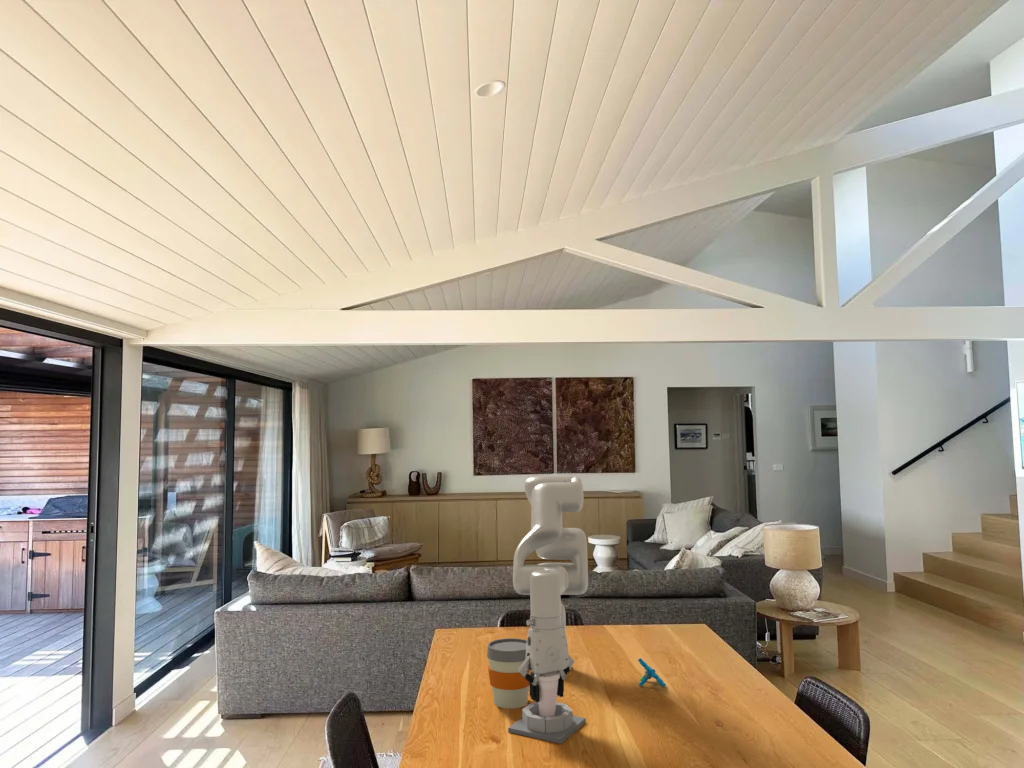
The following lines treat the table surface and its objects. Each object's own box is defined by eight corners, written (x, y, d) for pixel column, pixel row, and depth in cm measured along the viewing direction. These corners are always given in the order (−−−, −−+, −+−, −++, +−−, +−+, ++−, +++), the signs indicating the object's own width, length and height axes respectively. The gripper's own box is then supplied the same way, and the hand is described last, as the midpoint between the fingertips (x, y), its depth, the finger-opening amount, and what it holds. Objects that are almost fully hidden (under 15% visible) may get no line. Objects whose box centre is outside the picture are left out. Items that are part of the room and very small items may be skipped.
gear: (669, 687, 192) (642, 659, 194) (654, 703, 191) (627, 674, 194) (665, 679, 202) (639, 653, 205) (651, 694, 202) (625, 668, 204)
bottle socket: (508, 732, 167) (507, 714, 168) (535, 712, 179) (535, 695, 180) (561, 743, 160) (560, 725, 161) (585, 722, 173) (585, 705, 173)
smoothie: (532, 709, 173) (531, 651, 174) (558, 708, 174) (557, 650, 175) (535, 719, 167) (534, 659, 168) (562, 718, 167) (561, 658, 168)
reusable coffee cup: (540, 696, 190) (539, 640, 192) (525, 713, 179) (525, 653, 180) (496, 691, 194) (496, 636, 196) (480, 708, 183) (479, 649, 184)
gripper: (522, 630, 165) (523, 709, 163) (583, 621, 173) (585, 696, 171) (507, 623, 171) (508, 699, 170) (567, 614, 179) (568, 687, 178)
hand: (547, 697), depth 171 cm, fingers closed on smoothie, 6 cm apart
